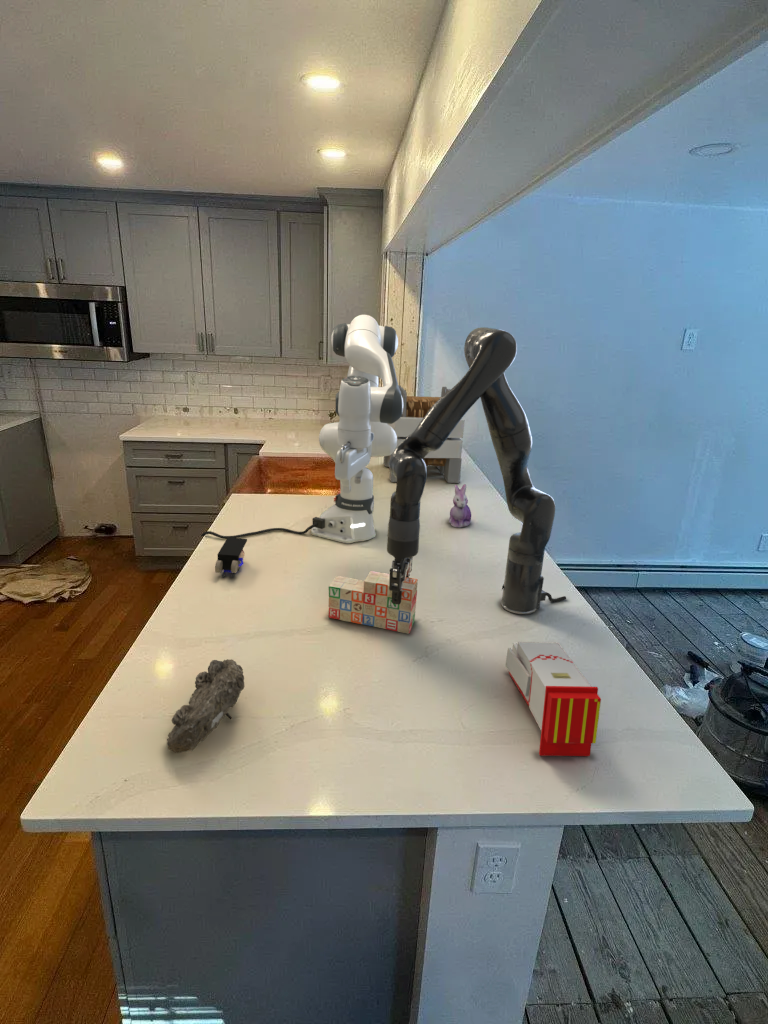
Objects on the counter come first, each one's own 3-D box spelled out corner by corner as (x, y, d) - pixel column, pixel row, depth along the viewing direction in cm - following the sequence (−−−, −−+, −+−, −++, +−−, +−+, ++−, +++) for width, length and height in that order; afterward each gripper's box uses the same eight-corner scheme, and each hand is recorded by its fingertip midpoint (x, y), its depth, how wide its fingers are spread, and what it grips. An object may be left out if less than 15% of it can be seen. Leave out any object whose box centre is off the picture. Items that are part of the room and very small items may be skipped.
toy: (554, 624, 127) (610, 694, 97) (548, 679, 130) (602, 763, 100) (500, 623, 126) (541, 693, 97) (496, 678, 129) (534, 763, 100)
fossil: (192, 660, 117) (244, 628, 112) (224, 691, 120) (276, 661, 115) (142, 746, 98) (202, 712, 93) (182, 779, 101) (242, 748, 96)
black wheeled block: (238, 584, 162) (249, 557, 175) (236, 562, 158) (247, 536, 172) (215, 584, 161) (227, 556, 175) (212, 561, 158) (225, 535, 171)
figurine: (457, 529, 205) (460, 490, 200) (441, 520, 214) (444, 482, 209) (478, 526, 210) (482, 487, 205) (462, 517, 218) (465, 480, 213)
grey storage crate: (382, 463, 289) (386, 382, 275) (445, 464, 293) (451, 384, 279) (390, 482, 257) (394, 392, 243) (460, 483, 261) (468, 394, 247)
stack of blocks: (327, 618, 144) (328, 574, 140) (336, 606, 150) (336, 564, 145) (409, 634, 139) (412, 589, 134) (415, 621, 144) (418, 578, 140)
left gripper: (352, 447, 142) (351, 500, 147) (375, 432, 161) (374, 479, 166) (329, 445, 144) (328, 497, 148) (354, 430, 162) (353, 477, 167)
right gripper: (411, 547, 127) (407, 613, 132) (425, 526, 140) (421, 586, 145) (379, 542, 128) (376, 608, 134) (396, 521, 141) (392, 582, 147)
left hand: (352, 487), depth 157 cm, fingers open, 8 cm apart
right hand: (399, 596), depth 140 cm, fingers closed on stack of blocks, 6 cm apart
